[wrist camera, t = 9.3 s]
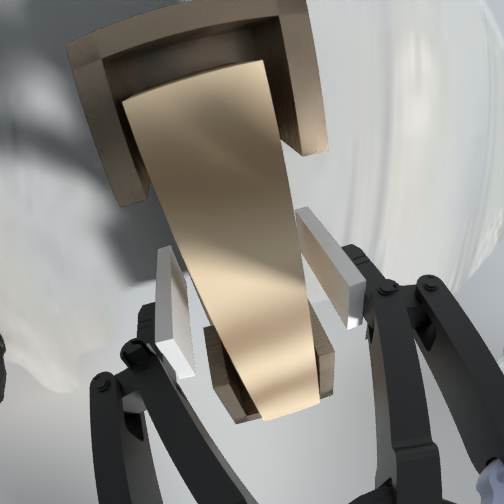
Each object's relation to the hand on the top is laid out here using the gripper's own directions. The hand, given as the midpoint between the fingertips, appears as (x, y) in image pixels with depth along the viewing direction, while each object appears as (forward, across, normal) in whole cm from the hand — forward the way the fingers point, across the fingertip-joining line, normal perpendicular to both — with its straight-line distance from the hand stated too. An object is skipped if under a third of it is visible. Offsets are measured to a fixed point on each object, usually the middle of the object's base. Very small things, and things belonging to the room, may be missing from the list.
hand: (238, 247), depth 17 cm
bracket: (+6, 0, 0) cm, 6 cm away
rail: (0, 0, 0) cm, 1 cm away
